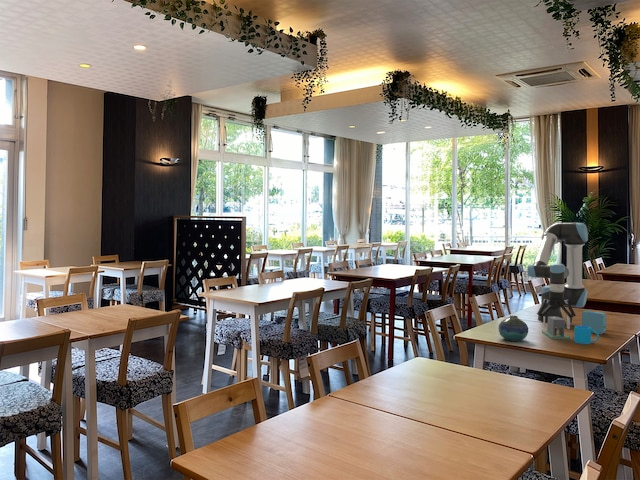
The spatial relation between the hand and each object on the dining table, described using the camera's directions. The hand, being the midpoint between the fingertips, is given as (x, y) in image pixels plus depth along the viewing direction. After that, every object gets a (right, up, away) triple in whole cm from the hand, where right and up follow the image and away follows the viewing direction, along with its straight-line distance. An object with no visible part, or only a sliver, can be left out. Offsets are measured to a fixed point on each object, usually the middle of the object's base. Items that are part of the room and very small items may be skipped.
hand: (555, 328), depth 283 cm
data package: (+27, -4, +10) cm, 29 cm away
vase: (-28, -5, -10) cm, 30 cm away
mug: (+10, -5, -15) cm, 18 cm away
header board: (0, -4, 0) cm, 4 cm away
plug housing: (0, -3, 0) cm, 3 cm away
